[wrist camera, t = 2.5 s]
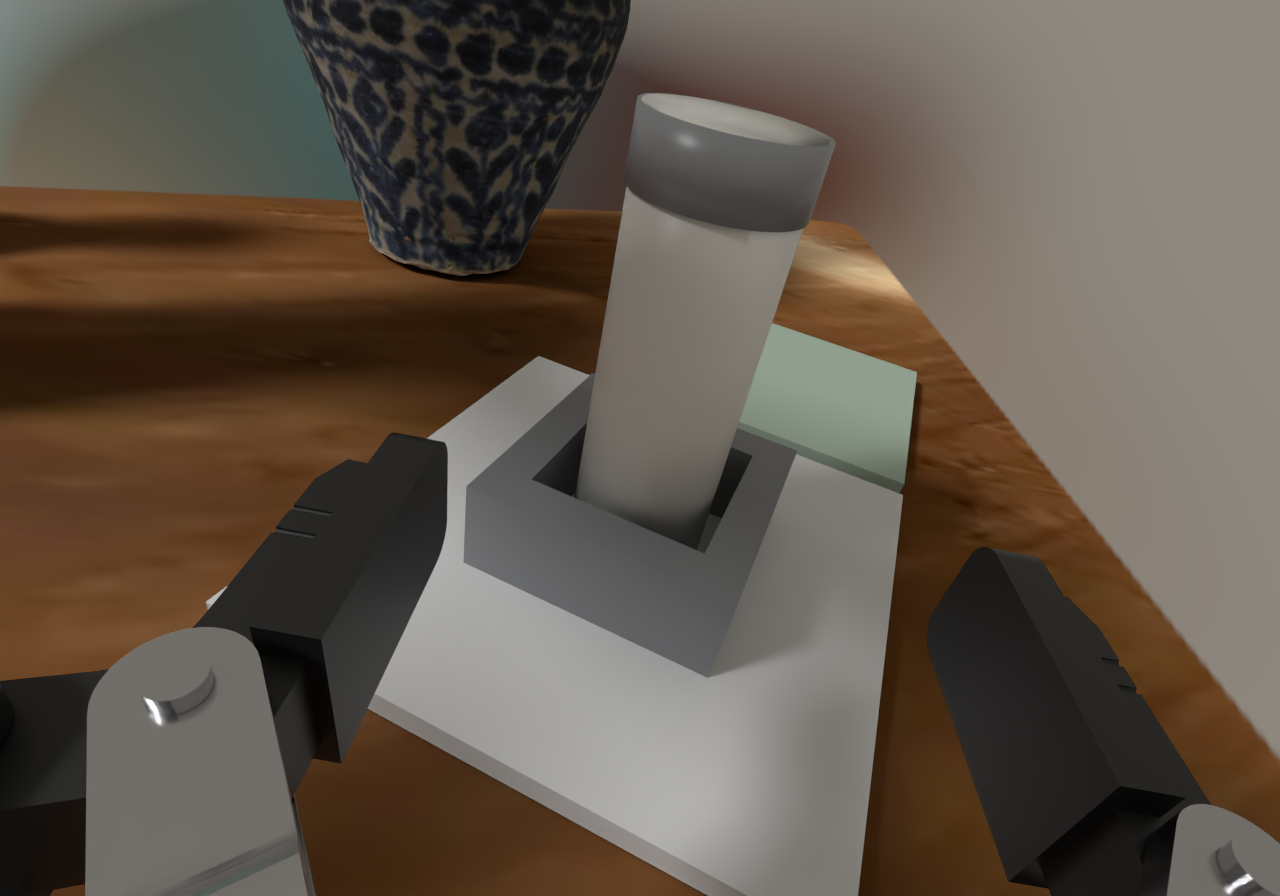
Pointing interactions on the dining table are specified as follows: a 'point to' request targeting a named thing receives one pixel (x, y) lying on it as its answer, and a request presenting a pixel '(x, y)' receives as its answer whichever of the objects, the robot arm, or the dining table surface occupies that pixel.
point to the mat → (833, 406)
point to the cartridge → (692, 301)
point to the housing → (657, 648)
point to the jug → (457, 114)
